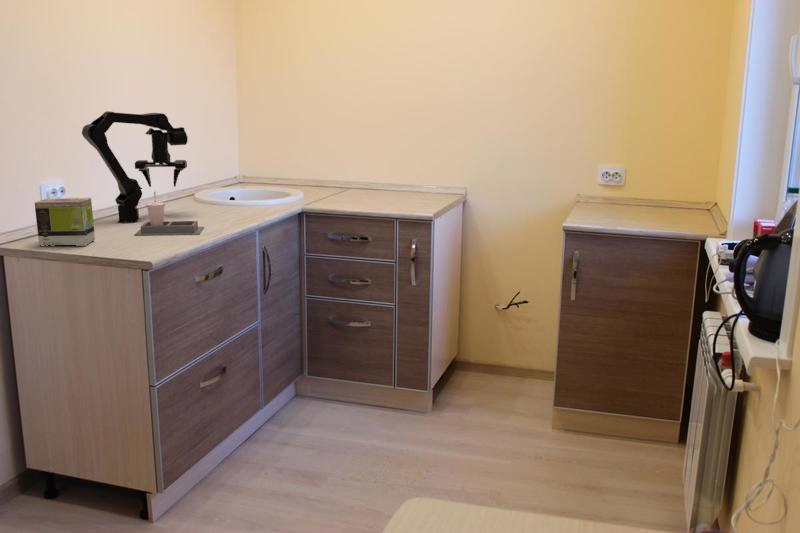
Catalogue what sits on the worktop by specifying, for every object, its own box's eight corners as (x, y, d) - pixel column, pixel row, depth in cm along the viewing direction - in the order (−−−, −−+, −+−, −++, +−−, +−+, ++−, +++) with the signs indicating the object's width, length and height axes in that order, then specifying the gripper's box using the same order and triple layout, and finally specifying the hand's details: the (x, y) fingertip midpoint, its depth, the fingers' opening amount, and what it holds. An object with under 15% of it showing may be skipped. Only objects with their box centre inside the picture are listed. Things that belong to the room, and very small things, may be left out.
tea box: (95, 240, 265) (92, 197, 262) (85, 247, 255) (81, 201, 252) (50, 240, 265) (46, 196, 261) (38, 247, 255) (33, 201, 251)
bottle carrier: (134, 235, 273) (133, 227, 272) (141, 228, 286) (141, 220, 285) (199, 234, 276) (198, 226, 275) (203, 227, 288) (203, 219, 287)
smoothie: (147, 232, 276) (144, 193, 273) (148, 229, 282) (145, 190, 279) (166, 232, 278) (164, 192, 275) (167, 228, 284) (164, 189, 281)
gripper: (187, 144, 311) (190, 183, 315) (139, 144, 309) (141, 184, 313) (183, 146, 300) (186, 187, 304) (133, 147, 298) (136, 188, 302)
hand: (162, 186), depth 306 cm, fingers open, 9 cm apart
